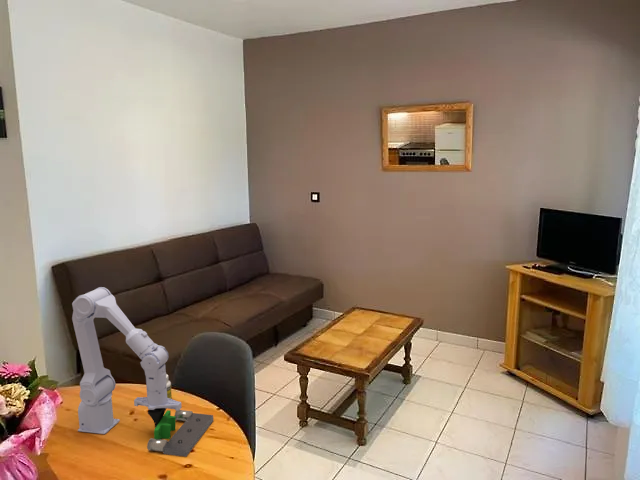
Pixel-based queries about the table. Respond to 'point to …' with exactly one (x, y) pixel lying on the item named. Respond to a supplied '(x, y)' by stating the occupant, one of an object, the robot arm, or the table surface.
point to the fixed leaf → (183, 434)
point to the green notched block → (165, 426)
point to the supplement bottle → (168, 387)
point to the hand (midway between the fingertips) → (159, 428)
